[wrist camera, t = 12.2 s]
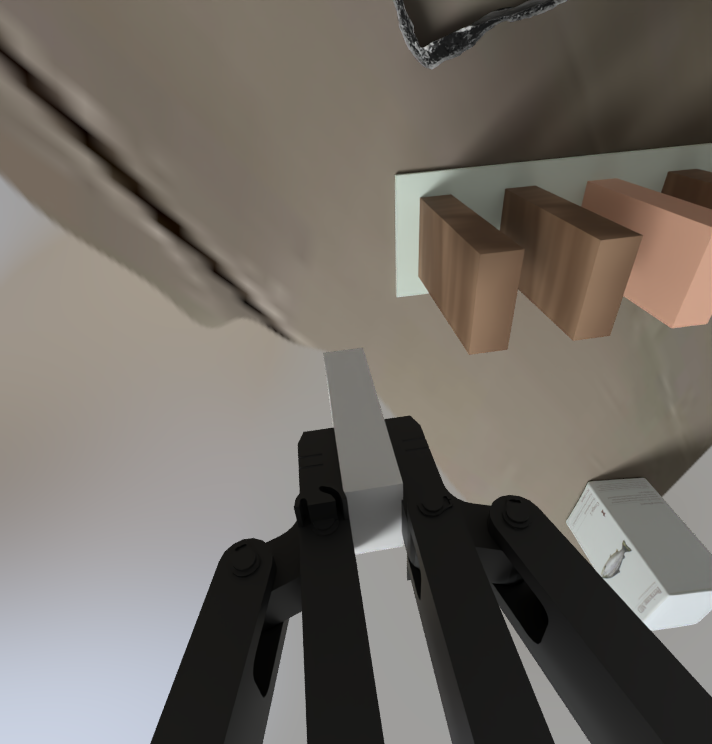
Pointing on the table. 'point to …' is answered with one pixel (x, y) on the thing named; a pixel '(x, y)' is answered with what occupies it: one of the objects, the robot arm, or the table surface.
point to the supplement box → (644, 552)
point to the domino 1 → (469, 272)
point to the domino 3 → (661, 249)
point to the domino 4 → (690, 186)
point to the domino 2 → (569, 259)
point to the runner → (557, 176)
